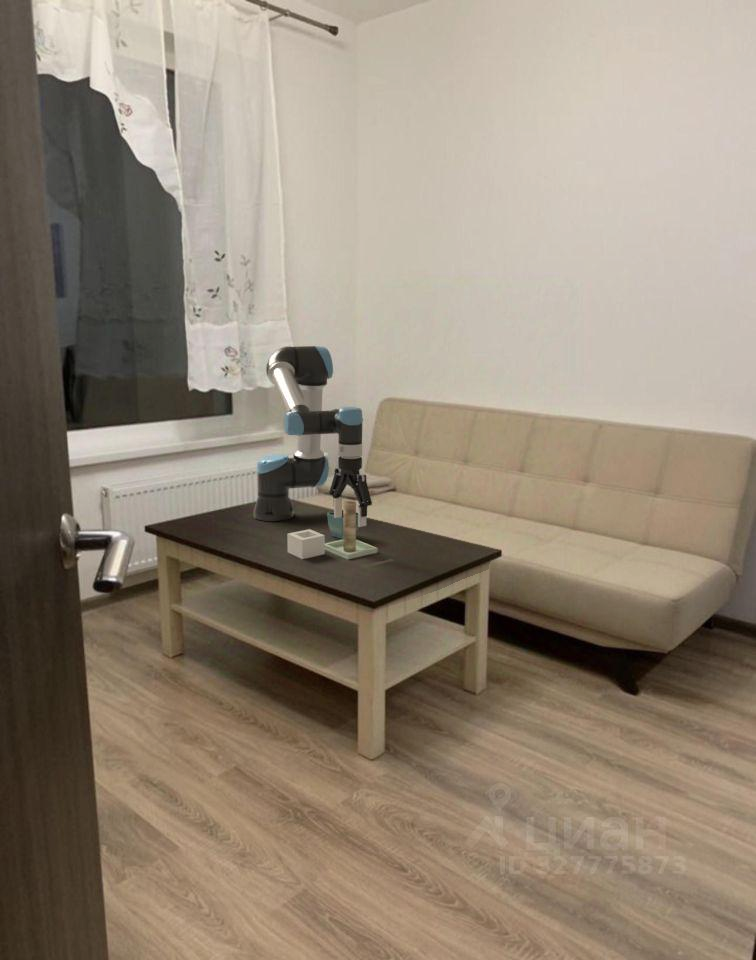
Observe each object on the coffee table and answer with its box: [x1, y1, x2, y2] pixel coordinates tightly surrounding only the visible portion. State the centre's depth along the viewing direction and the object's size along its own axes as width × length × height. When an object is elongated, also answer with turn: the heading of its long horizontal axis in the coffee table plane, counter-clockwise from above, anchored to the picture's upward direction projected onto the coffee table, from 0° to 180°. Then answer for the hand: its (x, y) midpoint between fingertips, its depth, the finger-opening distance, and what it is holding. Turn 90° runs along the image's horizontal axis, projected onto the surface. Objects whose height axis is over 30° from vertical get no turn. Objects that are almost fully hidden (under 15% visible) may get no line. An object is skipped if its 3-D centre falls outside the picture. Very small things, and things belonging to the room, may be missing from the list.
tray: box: [325, 539, 378, 560], centre depth 245 cm, size 14×12×2 cm
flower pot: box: [326, 509, 361, 540], centre depth 260 cm, size 9×9×9 cm
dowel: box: [342, 500, 357, 552], centre depth 244 cm, size 4×4×16 cm
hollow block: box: [286, 528, 326, 560], centre depth 242 cm, size 9×9×7 cm
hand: (349, 521), depth 243 cm, fingers open, 12 cm apart
